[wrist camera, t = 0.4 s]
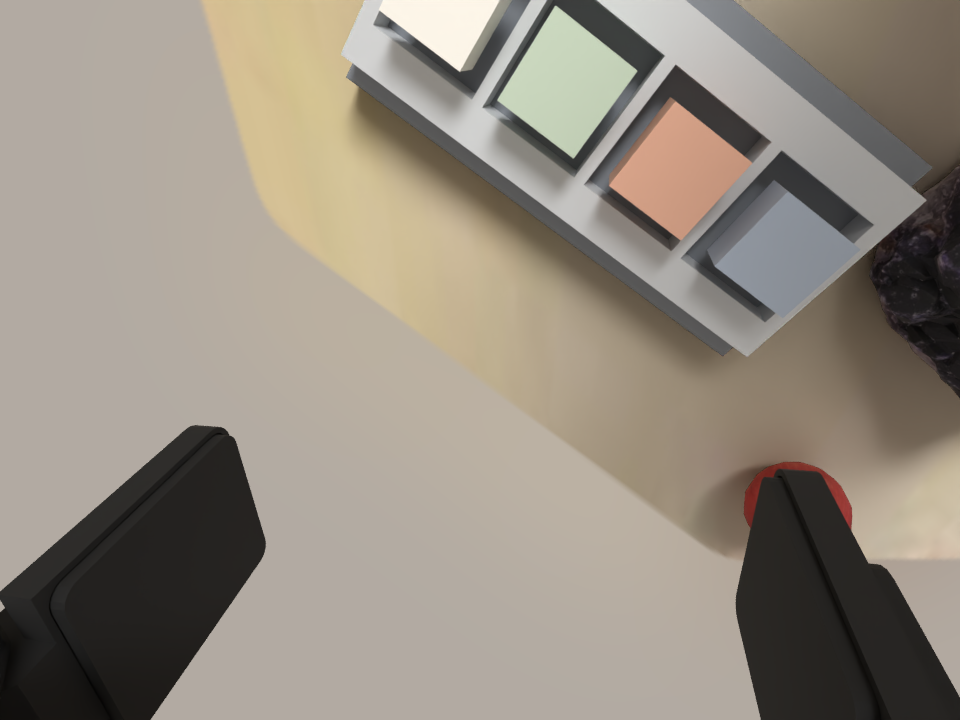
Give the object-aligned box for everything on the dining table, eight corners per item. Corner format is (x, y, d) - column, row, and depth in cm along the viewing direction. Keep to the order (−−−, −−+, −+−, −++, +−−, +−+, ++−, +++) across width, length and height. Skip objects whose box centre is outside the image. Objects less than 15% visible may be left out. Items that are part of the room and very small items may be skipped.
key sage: (560, 8, 25) (555, 5, 23) (635, 68, 25) (637, 71, 23) (506, 96, 27) (497, 100, 25) (576, 149, 27) (573, 158, 25)
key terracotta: (670, 96, 26) (675, 101, 23) (741, 153, 26) (752, 163, 24) (609, 174, 28) (608, 185, 26) (676, 225, 28) (680, 240, 26)
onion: (850, 471, 37) (903, 568, 30) (777, 518, 40) (811, 615, 33) (784, 421, 36) (824, 508, 30) (715, 472, 39) (737, 561, 32)
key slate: (774, 179, 26) (788, 191, 24) (841, 233, 27) (860, 249, 25) (707, 249, 28) (714, 266, 26) (770, 298, 29) (782, 318, 27)
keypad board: (488, -196, 25) (468, -234, 22) (913, 160, 28) (955, 176, 25) (360, 75, 32) (329, 79, 28) (717, 341, 35) (728, 373, 31)
